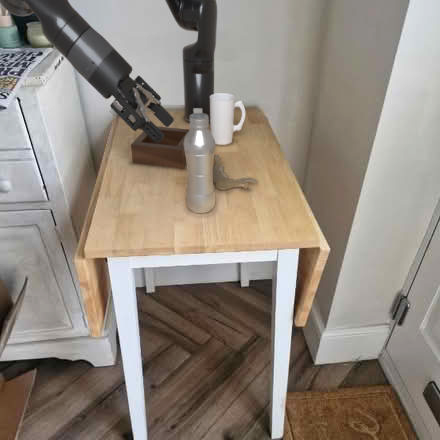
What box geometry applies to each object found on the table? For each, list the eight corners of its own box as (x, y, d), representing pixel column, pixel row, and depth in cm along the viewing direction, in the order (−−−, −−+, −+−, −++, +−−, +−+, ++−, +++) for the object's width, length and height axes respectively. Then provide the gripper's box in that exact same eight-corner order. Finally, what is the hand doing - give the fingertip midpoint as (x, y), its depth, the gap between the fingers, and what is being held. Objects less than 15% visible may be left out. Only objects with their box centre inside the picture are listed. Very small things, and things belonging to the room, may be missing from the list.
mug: (211, 146, 120) (211, 101, 112) (208, 136, 125) (208, 93, 117) (246, 144, 121) (249, 100, 113) (241, 135, 126) (243, 92, 118)
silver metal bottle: (192, 219, 91) (189, 124, 78) (181, 204, 95) (177, 112, 82) (220, 213, 93) (221, 119, 80) (208, 199, 97) (207, 108, 84)
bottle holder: (150, 143, 121) (148, 125, 118) (196, 148, 119) (196, 130, 116) (133, 163, 111) (130, 144, 108) (183, 168, 109) (182, 149, 106)
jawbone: (226, 200, 98) (226, 192, 97) (187, 166, 112) (186, 159, 110) (259, 188, 101) (259, 180, 100) (216, 157, 115) (216, 149, 113)
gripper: (98, 58, 70) (171, 132, 76) (123, 39, 80) (186, 106, 87) (73, 90, 74) (145, 158, 80) (101, 69, 84) (162, 130, 91)
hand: (166, 131), depth 84 cm, fingers open, 8 cm apart
